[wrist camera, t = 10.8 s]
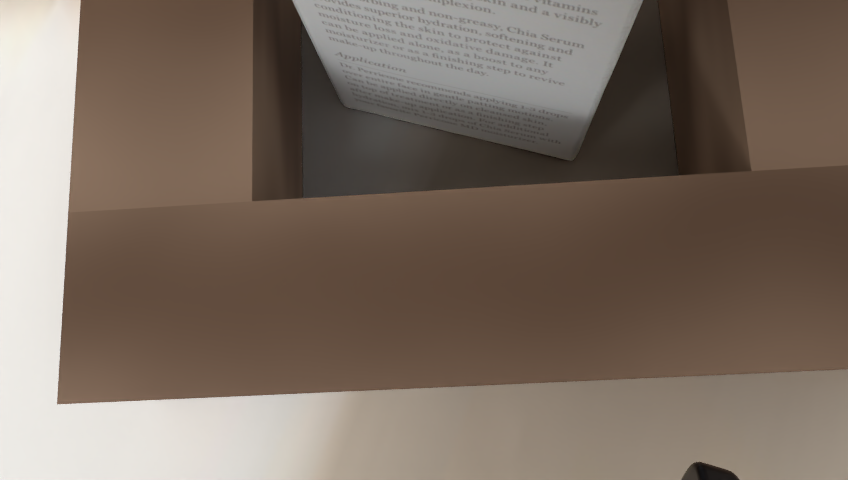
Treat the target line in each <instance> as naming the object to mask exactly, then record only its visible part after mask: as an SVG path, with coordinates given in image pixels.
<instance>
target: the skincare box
mask: <svg viewBox="0 0 848 480" xmlns="http://www.w3.org/2000/svg"><path fill="white" fill-rule="evenodd" d="M292 1H293V3H294V5H295V7H296V9H297V11H298V13H299V15H300V18H301V20H302V22H303V24H304V26H305V28H306V30H307V32H308V34H309V37H310V39H311V41H312V43H313V45H314V47H315V49H316V51H317V53H318V56H319V57H320V59H321V61H322V63H323V66H324V68H325V70H326V72H327V74H328V76H329V78H330V80H331V82H332V84H333V86H334V88H335V90H336V92H337V94H338V96H339V99H340V101H341V102H342V103H343V105H344V106H345V107H347V108H352V109H356V110H361V111H366V112H370V113H374V114H378V115H382V116H386V117H390V118H394V119H398V120H402V121H407V122H411V123H415V124H419V125H423V126H427V127H432V128H436V129H440V130H444V131H448V132H452V133H457V134H461V135H465V136H470V137H474V138H478V139H482V140H486V141H490V142H494V143H499V144H503V145H508V146H512V147H516V148H520V149H524V150H529V151H533V152H537V153H541V154H544V155H548V156H553V157H557V158H560V159H564V160H571V161H572V160H574V159H575V157H576V156H577V154H578V152H579V150H580V148H581V145H582V143H583V141H584V138H585V136H586V133H587V131H588V128H589V126H590V123H591V121H592V119H593V116H594V114H595V112H596V109H597V107H598V105H599V102H600V100H601V97H602V95H603V92H604V90H605V87H606V85H607V83H608V81H609V79H610V77H611V75H612V72H613V70H614V68H615V66H616V63H617V61H618V59H619V56H620V54H621V51H622V49H623V47H624V44H625V42H626V39H627V37H628V35H629V33H630V31H631V28H632V26H633V23H634V21H635V19H636V16H637V14H638V11H639V9H640V7H641V4H642V2H643V0H292Z"/></svg>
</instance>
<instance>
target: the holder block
mask: <svg viewBox="0 0 848 480" xmlns="http://www.w3.org/2000/svg"><path fill="white" fill-rule="evenodd" d="M658 4H659V12H660V21H661V29H662V37H663V45H664V54H665V62H666V70H667V78H668V87H669V95H670V103H671V111H672V120H673V128H674V136H675V145H676V153H677V161H678V169H679V175H678V176H662V177H645V178H629V179H612V180H596V181H579V182H563V183H546V184H530V185H513V186H497V187H480V188H464V189H447V190H431V191H415V192H398V193H382V194H365V195H349V196H332V197H316V198H303V164H302V62H301V18H300V15H299V13H298V11H297V9H296V7H295V5H294V3H293V1H292V0H81V7H80V24H79V41H78V58H77V75H76V92H75V109H74V126H73V143H72V160H71V177H70V194H69V211H68V228H67V245H66V262H65V279H64V296H63V313H62V330H61V347H60V364H59V381H58V398H57V404H72V403H95V402H117V401H140V400H162V399H185V398H207V397H230V396H252V395H275V394H297V393H320V392H342V391H365V390H387V389H410V388H432V387H455V386H477V385H500V384H522V383H545V382H567V381H590V380H612V379H635V378H657V377H680V376H702V375H725V374H747V373H770V372H792V371H815V370H837V369H848V0H658Z"/></svg>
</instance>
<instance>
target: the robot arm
mask: <svg viewBox="0 0 848 480" xmlns="http://www.w3.org/2000/svg"><path fill="white" fill-rule="evenodd" d="M681 480H739V479H738V477H737V476H736V475H735V474H734V473H732V472H731V471H729V470H725V469H722V468H719V467H715V466H712V465H709V464H706V463H702V462H696V463H693V464H692V465H691V466H690V467H689V468H688V469H687V471H686V473H685V474H684V476H683V478H682V479H681Z"/></svg>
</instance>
